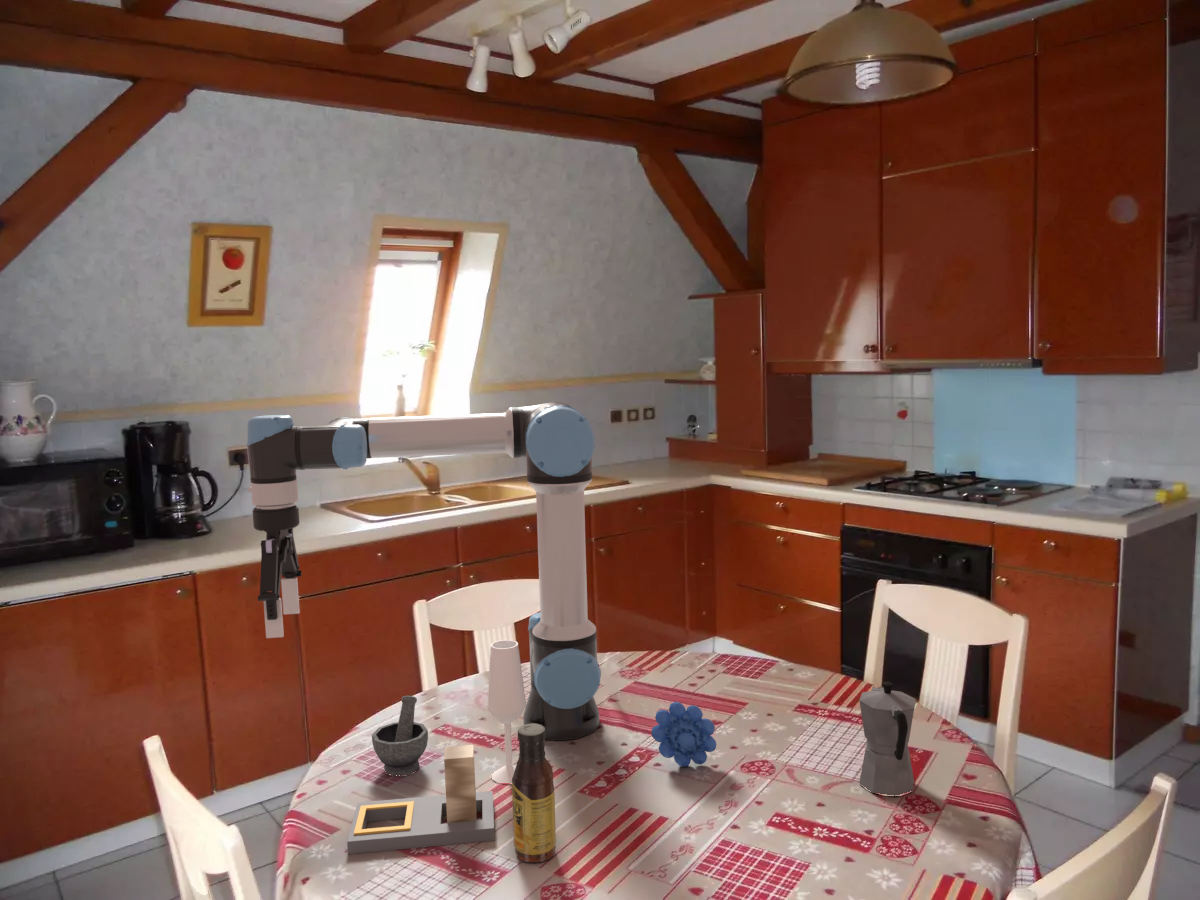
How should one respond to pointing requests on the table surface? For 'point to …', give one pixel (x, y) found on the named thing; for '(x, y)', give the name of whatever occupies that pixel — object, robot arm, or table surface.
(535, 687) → the robot arm
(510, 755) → the champagne flute
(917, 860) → the table surface
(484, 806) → the peg board
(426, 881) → the table surface
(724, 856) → the table surface
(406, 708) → the mortar and pestle
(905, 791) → the coffeepot
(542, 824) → the sauce bottle
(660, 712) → the blue flower
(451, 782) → the wooden peg
